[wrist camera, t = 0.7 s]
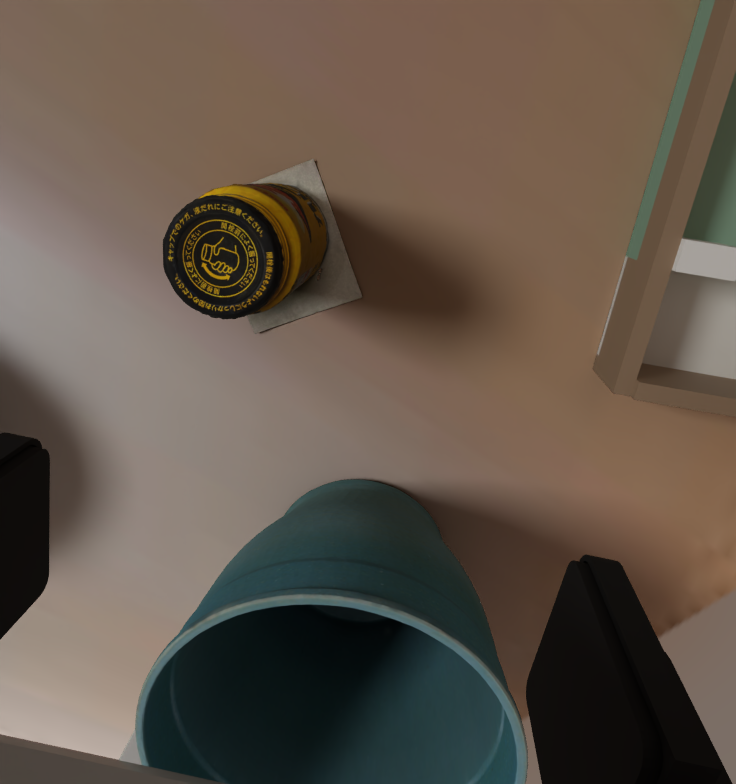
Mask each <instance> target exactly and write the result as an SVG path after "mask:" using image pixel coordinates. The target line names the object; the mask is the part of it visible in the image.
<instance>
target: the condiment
mask: <svg viewBox="0 0 736 784" xmlns="http://www.w3.org/2000/svg"><path fill="white" fill-rule="evenodd" d="M163 265H164V270H165V273H166V276H167V277H168V279H169V281H170V283H171V285H172V287H173V289H174V291H175V292H176V293H177V295H178V296H179V297H180V298H181V299H182V300H183V301H184V302H185V303H186V304H187V305H188V306H190V307H191V308H193V309H195V310H197V311H200V312H201V313H202V314H206V315H209V316H210V317H213V318H222V319H236V318H239V317H244V316H246V315H247V316H248V319H249V322H250V324H251V326H252V329H253V331H254V333H255V334H256V333H259V332H262V331H264V330H267V329H270V328H273V327H276V326H278V325H281V324H284V323H287V322H290V321H293V320H296V319H299V318H302V317H305V316H308V315H311V314H314V313H316V312H320V311H323V310H326V309H329V308H332V307H335V306H338V305H341V304H343V303H347V302H350V301H353V300H356V299H359V298H362V294H361V292H360V289H359V286H358V283H357V280H356V277H355V275H354V272H353V269H352V267H351V264H350V261H349V258H348V255H347V252H346V250H345V246H344V243H343V241H342V238H341V235H340V232H339V229H338V226H337V223H336V220H335V217H334V215H333V212H332V209H331V206H330V203H329V201H328V198H327V195H326V192H325V189H324V186H323V184H322V181H321V178H320V175H319V172H318V170H317V167H316V164H315V162H314V159H312V160H309V161H307V162H304V163H302V164H299V165H296V166H294V167H291V168H289V169H286V170H284V171H281V172H279V173H276V174H273V175H271V176H268V177H266V178H263V179H261V180H258V181H255V182H253V183H250V184H247V185H242V184H233V185H230V186H227V187H221V188H217V189H213V190H211V191H209V192H207V193H205V194H204V195H202V196H201V197H199V198H198V199H195V200H194V201H193V202H191V203H189V204H187V205H186V206H185V207H184V208H182V209H181V211H180V212H179V213H178V214H177V215H176V216H175V217H174V218H173V220H172V222H171V223H170V225H169V227H168V230H167V232H166V235H165V237H164V239H163ZM319 269H322V272H321V273H319ZM319 274H320V280H317V276H318V275H319Z"/></svg>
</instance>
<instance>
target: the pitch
mask: <svg viewBox="0 0 736 784" xmlns="http://www.w3.org/2000/svg"><path fill="white" fill-rule="evenodd" d="M593 370H594V372H595V373H596V374H597V375H598V376H599V377H600V379H601V380H602V381H603V382H604V383H605V384H606V386H607V387H608V388H609V389H610V390H611V392H612V393H614V394H620V395H626V396H631V397H632V398H633V399H634V400H640V401H645V402H651V403H657V404H662V405H668V406H674V407H679V408H685V409H691V410H697V411H702V412H708V413H714V414H719V415H725V416H731V417H736V0H701V2H700V5H699V9H698V12H697V16H696V19H695V22H694V26H693V29H692V33H691V36H690V39H689V43H688V46H687V50H686V53H685V56H684V60H683V63H682V67H681V70H680V73H679V77H678V80H677V84H676V87H675V90H674V94H673V97H672V101H671V104H670V107H669V111H668V114H667V118H666V121H665V124H664V128H663V131H662V135H661V138H660V141H659V145H658V148H657V152H656V155H655V158H654V162H653V165H652V169H651V172H650V175H649V179H648V182H647V186H646V189H645V192H644V196H643V199H642V203H641V206H640V209H639V213H638V216H637V220H636V223H635V226H634V230H633V233H632V237H631V240H630V243H629V247H628V250H627V254H626V257H625V260H624V264H623V267H622V271H621V274H620V277H619V281H618V284H617V288H616V291H615V294H614V298H613V301H612V305H611V308H610V311H609V315H608V318H607V322H606V325H605V328H604V332H603V335H602V339H601V342H600V345H599V349H598V352H597V356H596V359H595V362H594V366H593Z"/></svg>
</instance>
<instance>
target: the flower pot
mask: <svg viewBox="0 0 736 784" xmlns="http://www.w3.org/2000/svg"><path fill="white" fill-rule="evenodd" d="M135 730H136V742H137V749H138V753H139V757H140V761H141V764H142V765H144V766H148V767H153V768H157V769H162V770H166V771H171V772H175V773H180V774H185V775H189V776H194V777H198V778H203V779H207V780H212V781H216V782H221V783H225V784H525V782H526V778H527V769H528V751H527V743H526V737H525V733H524V728H523V724H522V721H521V717H520V714H519V711H518V709H517V706H516V704H515V701H514V699H513V697H512V695H511V693H510V692H509V690H508V686H507V683H506V679H505V676H504V673H503V670H502V667H501V665H500V662H499V660H498V656H497V652H496V648H495V645H494V641H493V637H492V634H491V631H490V628H489V624H488V621H487V618H486V615H485V612H484V609H483V607H482V605H481V602H480V600H479V597H478V595H477V593H476V591H475V589H474V587H473V585H472V583H471V581H470V579H469V577H468V576H467V574H466V572H465V571H464V569H463V567H462V566H461V564H460V563H459V562H458V560H457V559H456V557H455V556H454V555H453V553H452V552H451V551H450V550H449V548H448V547H447V546H446V545H445V544H444V542H443V541H442V537H441V535H440V532H439V530H438V527H437V525H436V524H435V522H434V520H433V519H432V517H431V516H430V515H429V513H428V512H427V511H426V510H425V509H424V508H423V507H422V506H421V505H420V504H419V503H418V502H416V501H415V500H414V499H412V498H411V497H410V496H408V495H407V494H405V493H403V492H402V491H400V490H398V489H396V488H393V487H391V486H388V485H385V484H382V483H378V482H374V481H368V480H340V481H335V482H331V483H328V484H325V485H322V486H320V487H318V488H316V489H313V490H311V491H309V492H308V493H306V494H305V495H303V496H302V497H300V498H299V499H298V500H297V501H296V502H295V503H294V504H293V505H292V506H291V507H290V508H289V509H288V511H287V512H286V513H285V515H284V516H283V517H282V518H280V519H279V520H277V521H276V522H274V523H273V524H271V525H270V526H268V527H267V528H265V529H264V530H263V531H262V532H260V533H259V534H258V535H256V536H255V537H254V538H253V539H252V540H251V541H250V542H249V543H247V544H246V545H245V546H244V547H243V548H242V549H241V550H240V551H239V552H238V554H237V555H236V556H235V557H234V558H233V559H232V560H231V561H230V563H229V564H228V565H227V566H226V567H225V569H224V570H223V572H222V573H221V574H220V576H219V577H218V578H217V580H216V581H215V583H214V584H213V585H212V587H211V588H210V590H209V591H208V593H207V594H206V596H205V597H204V599H203V600H202V602H201V603H200V605H199V606H198V608H197V610H196V611H195V612H194V613H193V614H192V616H191V617H190V618H189V619H188V621H187V622H186V623H185V625H184V627H183V628H182V630H181V631H180V633H179V634H178V635H177V636H176V637H175V638H174V639H173V640H172V641H171V642H170V643H169V644H168V645H167V647H166V648H165V649H164V650H163V652H162V653H161V654H160V656H159V657H158V659H157V660H156V662H155V663H154V665H153V667H152V669H151V670H150V672H149V674H148V676H147V678H146V680H145V682H144V685H143V687H142V690H141V693H140V696H139V701H138V705H137V711H136V724H135Z"/></svg>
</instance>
